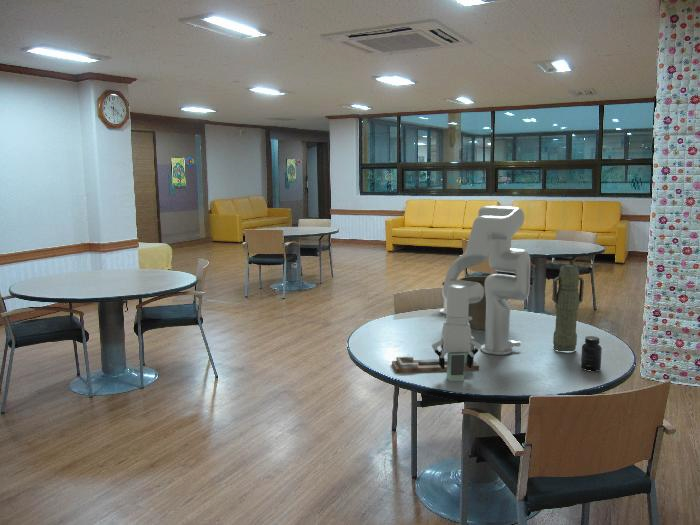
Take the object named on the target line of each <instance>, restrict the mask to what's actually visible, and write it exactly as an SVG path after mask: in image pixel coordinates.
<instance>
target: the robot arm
mask: <svg viewBox="0 0 700 525" xmlns="http://www.w3.org/2000/svg"><path fill="white" fill-rule="evenodd" d="M477 215H478V216H477V217H476V218H475V219H474V220H473V223H472V226H471V231H470V233H469V237H468V241H467V244H466V248H465V251H464V253H462V254H461V255H460V256H459V257H458V258H456V259H455V260H454V261H453V262H452V264H451V265H450V266H449V268H448V270H447V272H446V274H445V275H446V276H445V278H444V281H443V282H444V285H443V286H444V287H443V286H442V289H443V293H444V296H445V297H446V298H447V311H446V314H445V317H446V318H445V319H446V320H445V322H444V323H443V325H442V330H441V334H440V335H441V337H440V340H439V341H436V342H434V343H432V344H431V348H432V350H433V352H434V353H435V354H436V355H437V356H438V359H439V366H440V367H441V368H442V369H444V367H445V359H446V358H445V356H446V355H447V353H460V352H467V353H468V355H467V366H468V367H469V368H471V365H473V357H475V355H476V354H478V352H479V350H481V351H482V352H483V353H486V354H488V355H494V356H495V355H496V356H504V355H507V356H508V355H510V354H512V353H513V348H514V347H521V341H515V340H510V325H511V307H510V304H509V302H508V300H511V301H519V302H521V301H525V300H527V298H528V297H529V295H530V290H531V256H530V253H529V252H528V251H527V250H525V249H522V248H513V247H512V237H513V236H514V235H516V233H517V232H518V231H520V229H521V228H522V227H523V225H524V221H525V213H524V211H523V209H522V208H520V207H518V206H503V205H486V206H485V205H484V206H482V207H480V208H479V209H478V213H477ZM487 260H488V266H489V268H490V269H491V270H493V271H496V272H502V273H492V274H489V275H487V276H488V277H487V278H486V280H485V294H486V324H485V330H484V343H483V344H481V343H480V342H478V341H476V340H475V339H474V340H472V339H471V336H472V330H471V329H472V328H471V327H470V324H469V321H470V320H472V316H471V317H470V316H468V310H469V304H471V303H477V302H479V301H480V300H481V299H482V298H483V296H484V288H483V286H482V285H481V284H480V283H477V282H471V281H464V280H459V279H458V278H459V275H461V273H462V272H463V271H464V270H466V269H468V268H470V267H472V266H476V265H478V264H482V263H485V262H486V261H487ZM503 273H512V274H515V275H510V274H503ZM506 299H507V301H506ZM472 344H474V349H473V350H472V351H471V348H472ZM438 347H440V348H441V350H438Z"/></svg>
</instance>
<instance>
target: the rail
mask: <svg viewBox="0 0 700 525" xmlns="http://www.w3.org/2000/svg"><path fill="white" fill-rule="evenodd" d="M471 339H472V340H474V341H475V337H474V336H473V335H471ZM474 348H475V345H474V344H472V348H471V351H472V350H473V349H474ZM464 353H465V362H464V371H476V370H477V371H478V370H480V365H479V364H478V363H477V362H476V361H475V358H474V357H475V356H474V357H473V365H471V368H469V367H468V366H467V355H468V353H467V352H464ZM395 359H396V360H392V361H391V366H392V367H393V369H394V372H395V374H401V373H402V374H405V373H406V374H407V373H429V372H447V358H445V367H444V369H442V368H441V367H440V366H439V358H438V359H437V358H436V359H434V358H433V359H414V356H396V358H395Z"/></svg>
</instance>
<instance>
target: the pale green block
mask: <svg viewBox="0 0 700 525" xmlns="http://www.w3.org/2000/svg"><path fill="white" fill-rule="evenodd" d="M446 355H447V356H446V359H447V371H446V378H447V380H448V382H465V370H464V362H465V353H464V352H460V353H446Z"/></svg>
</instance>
